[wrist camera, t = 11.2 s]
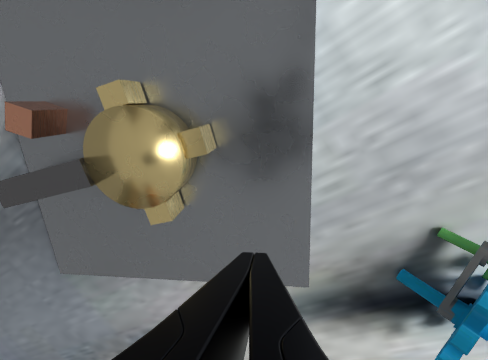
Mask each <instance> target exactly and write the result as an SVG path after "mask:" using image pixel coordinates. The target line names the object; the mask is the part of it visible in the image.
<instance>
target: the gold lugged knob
mask: <svg viewBox="0 0 488 360" xmlns="http://www.w3.org/2000/svg"><path fill="white" fill-rule="evenodd" d="M96 90H97V92H98V95H99V97H100V100H101V102H102V105H103V107H104V111H102V112H101V113H99V114H98V115H97V116H96V117H95V118H94V119H93V120H92V121H91V123H90V124H89V126H88V128H87V130H86V133H85V136H84V141H83V155H84V157H83V158H80V159H76V160H73V161H69V162H65V163H62V164H58V165H55V166H51V167H48V168H44V169H40V170H37V171H33V172H30V173H26V174H23V175H19V176H16V177H12V178H9V179H5V180H2V181H0V202H1V204H2V206H3V207H4V208H7V207H11V206H15V205H19V204H23V203H27V202H31V201H35V200H39V199H43V198H47V197H51V196H55V195H59V194H63V193H67V192H71V191H75V190H79V189H83V188H87V187H91V186H93V185H96V186H97V187H98V188H99V189H100V190H101V191H102V192H103V193H104V194H105V195H106V196H107V197H109V198H110V199H112V200H113V201H115V202H117V203H119V204H121V205H123V206H126V207H130V208H136V209H145V212H146V214H147V217H148V219H149V222H150V224H151V225H154V224H160V223H165V222H170V221H173V220H174V219H175V218H176V217H177V215H178V214H179V213H180V212H181V211H182V210H183V209H184V205H183V202H182V199H181V196H180V194H179V191H178V190H179V189H180V188H181V187H183V186H184V185H185V184H186V183H187V182H188V181H189V179H190V178H191V176H192V174H193V172H194V170H195V166H196V161H197V157H198V156H202V155H206V154H208V153H210V152H211V151H213V150H214V149H215V148H217V147H216V143H215V140H214V137H213V133H212V130H211V127H210V124H206V125H203V126H199V127H195V128H192V129H189V128H188V127H187V125H186V124H185V123H184V122H183V120H182V119H181V118H179V117H178V116H177V115H176V114H175V113H173V112H172V111H170V110H168V109H166V108H163V107H160V106H156V105H142V104H146V103H147V101H146V98H145V95H144V92H143V90H142V87H141V84H140V82H136V81H129V80H121V79H119V80H116V81H113V82H110V83H107V84H105V85H102V86H99V87H96Z"/></svg>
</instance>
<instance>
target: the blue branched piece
mask: <svg viewBox="0 0 488 360" xmlns="http://www.w3.org/2000/svg"><path fill="white" fill-rule="evenodd" d="M437 236H438V237H440V238H442V239H444V240H446V241H448V242H450V243H452V244H454V245H456V246H458V247H460V248H462V249H464V250H466V251H468V252H470V253H472V254H474V256H473V258H472V259H471V261H470V262H469V264H468V265H467V266H466V268H465V269H464V271H463V272H462V274H461V275H460V277H459V278H458V280H457V281H456V283H455V284H454V285H453V287H452V288H451V290H450V291H449V293H448V294H447V296H445V295H443V294H442V293H440V292H439V291H437V290H436V289H434V288H433V287H431V286H429V285H428V284H426V283H425V282H423V281H422V280H420V279H419V278H417V277H415V276H414V275H412V274H411V273H409V272H408V271H406V270H405V269H402V270H401V271H400V272H399V274H398V275H397V277H396V279H397V280H398V281H400V282H401V283H403V284H404V285H406V286H407V287H409V288H410V289H412V290H413V291H415V292H416V293H417V294H419V295H420V296H422V297H423V298H425V299H426V300H428V301H429V302H431V303H432V304H434V305H435V306H436V307H438V309H437V311H436V312H438V313H439V314H441V315H442V316H444V317H445V318H446V319H448V320H449V321H451V322H452V323H454V324H455V325H454V328H456V329H455V331H454V332H453V334H452V335H451V337H450V338H449V340H448V341H447V342H446V344H445V345H444V347H443V348H442V349H441V351H440V352H439V354H438V355H437V357H436V359H435V360H460V358H461V357H462V355H463V354H465V355H468V353H469V352H470V351H471V349H472V348H473V346H474V345H475V344H476V342H477V341H478V339H479V338H480V337H482V338H483V339H485V340H486V341H488V285H487V286H486V287H485V289H484V290H483V292H482V294H481V295H480V296H479V298H478V299H477V300H476V301H475V303H474V304H471V303H470V304H469V305H467V304H465V303H464V302H462V301H461V300H459V299H457V298H456V297H457V295H458V294H459V292H460V291H461V289H462V288H463V287H464V285H465V284H466V282H467V281H468V279H469V278H470V277H471V275H472V274H473V272H474V271H475V269H476V268H477V266H478V265H481V266H483V267H484V266H485V265H486V263H487V264H488V242H486V241H484V242H483V244H482V245H481V246H480V245H478V244H475V243H473V242H471V241H469V240H467V239H465V238H463V237H461V236H459V235H457V234H455V233H453V232H450V231H448V230H446V229H444V228H442V229H441V230H440V231H439V233H438V235H437ZM482 278H484V279H486V280H488V269H487V270H486V272H485V273H484V274H483V276H482Z"/></svg>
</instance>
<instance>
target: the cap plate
mask: <svg viewBox="0 0 488 360" xmlns="http://www.w3.org/2000/svg"><path fill="white" fill-rule="evenodd" d="M315 24H316V0H0V81H1V84H2V87H3V90H4V94H5V97H6V100H7V102H5V130H7V131H10V132H12V133H15V134H17V135H18V138H19V142H20V145H21V148H22V151H23V154H24V158H25V161H26V164H27V167H28V170H29V173H30V172H33V171H37V170H40V169H44V168H48V167H51V166H55V165H58V164H62V163H65V162H69V161H73V160H76V159H80V158H83V157H84V155H83V141H84V136H85V133H86V130H87V128H88V126H89V124H90V123H91V121H92V120H93V119H94V118H95V117H96V116H97V115H98V114H99V113H101V112H102V111H104V107H103V105H102V102H101V100H100V97H99V95H98V92H97V90H96V87H99V86H102V85H105V84H107V83H110V82H113V81H116V80H119V79H121V80H129V81H136V82H140V84H141V87H142V90H143V92H144V95H145V98H146V101H147V103H146V104H142V105H156V106H160V107H163V108H166V109H168V110H170V111H172V112H173V113H175V114H176V115H177V116H178V117H179V118H181V119H182V120H183V122H184V123H185V124H186V125H187V127H188V128H189V129H192V128H195V127H199V126H203V125H206V124H210V127H211V130H212V133H213V137H214V140H215V143H216V147H217V148H215V149H214V150H213V151H211V152H210V153H208V154H206V155H202V156H198V157H197V161H196V166H195V170H194V172H193V174H192V176H191V178H190V179H189V181H188V182H187V183H186V184H185V185H184V186H183V187H181V188H180V189H179V190H178V191H179V194H180V196H181V199H182V202H183V205H184V209H183V210H182V211H181V212H180V213H179V214H178V215H177V217H176V218H175V219H174V220H173V221H170V222H165V223H160V224H154V225H151V224H150V222H149V219H148V217H147V214H146V212H145V209H136V208H130V207H126V206H123V205H121V204H119V203H117V202H115V201H113V200H112V199H110V198H109V197H107V196H106V195H105V194H104V193H103V192H102V191H101V190H100V189H99V188H98V187H97V186H96V185H93V186H91V187H87V188H83V189H79V190H75V191H71V192H67V193H63V194H59V195H55V196H51V197H47V198H43V199H39V200H38V202H39V206H40V209H41V212H42V215H43V218H44V222H45V225H46V228H47V231H48V234H49V238H50V241H51V244H52V247H53V250H54V254H55V257H56V260H57V263H58V266H59V270H60V273H61V274H79V275H97V276H115V277H133V278H151V279H169V280H187V281H205V282H208V281H210V280H211V279H212V278H213V277H214V276H215V275H217V274H218V273H219V272H220V271H221V270H222V269H223V268H225V267H226V266H227V265H228V264H229V263H230V262H231V261H233V260H234V259H235V258H236V257H237V256H238V255H240V254H241V253H242V252H253V253H254V254H255V253H267V254H268V256H269V258H270V260H271V262H272V263H273V265H274V267H275V269H276V271H277V272H278V274H279V276H280V278H281V280H282V281H283V283H284V285H285V286H295V287H309V257H310V218H311V179H312V140H313V102H314V63H315Z"/></svg>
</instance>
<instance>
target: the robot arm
mask: <svg viewBox="0 0 488 360" xmlns="http://www.w3.org/2000/svg"><path fill="white" fill-rule="evenodd" d="M248 337H249V360H329V359H328V358H327V356H326V355H325V354H324V352H323V351H322V349H321V348H320V346H319V345H318V343H317V341H316V340H315V338H314V336H313V335H312V333H311V331H310V330H309V328H308V326H307V324H306V323H305V321H304V319H303V318H302V316H301V314H300V312H299V310H298V308H297V307H296V305H295V303H294V301H293V299H292V298H291V296H290V294H289V292H288V290H287V289H286V287H285V285H284V283H283V281H282V280H281V278H280V276H279V274H278V272H277V271H276V269H275V267H274V265H273V263H272V262H271V260H270V258H269V256H268V254H267V253H255V254H254V253H253V252H242V253H241V254H240V255H238V256H237V257H236V258H235V259H234V260H233V261H231V262H230V263H229V264H228V265H227V266H226V267H225V268H223V269H222V270H221V271H220V272H219V273H218V274H217V275H215V276H214V277H213V278H212V279H211V280H210V281H208V282H207V283H206V284H205V285H204V286H203V287H202V288H200V289H199V290H198V291H197V292H196V293H195V294H193V295H192V296H191V297H190V298H189V299H188V300H187V301H185V302H184V303H183V304H182V305H181V306H180V307H178V310H175V311H174V312H173V313H171V314H170V315H169V316H168V317H167V318H166V319H164V320H163V321H162V322H161V323H160V324H158V325H157V326H156V327H155V328H153V329H152V330H151V331H150V332H148V333H147V334H146V335H144V336H143V337H142V338H140V339H139V340H138V341H136V342H135V343H134V344H132V345H131V346H130V347H128V348H127V349H126V350H124V351H123V352H121V353H120V354H119V355H117V356H116V357H114V358H113V359H112V360H244V356H245V351H246V346H247V342H248Z"/></svg>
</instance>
